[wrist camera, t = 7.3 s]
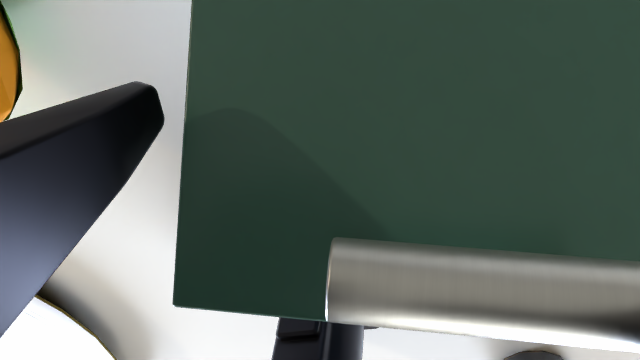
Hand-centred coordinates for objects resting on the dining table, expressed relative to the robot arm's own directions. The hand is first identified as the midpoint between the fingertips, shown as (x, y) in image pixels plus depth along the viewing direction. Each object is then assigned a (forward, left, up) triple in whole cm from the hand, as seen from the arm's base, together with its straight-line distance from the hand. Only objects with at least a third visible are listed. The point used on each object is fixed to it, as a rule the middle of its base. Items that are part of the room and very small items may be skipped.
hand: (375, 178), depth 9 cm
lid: (0, -2, -4) cm, 4 cm away
